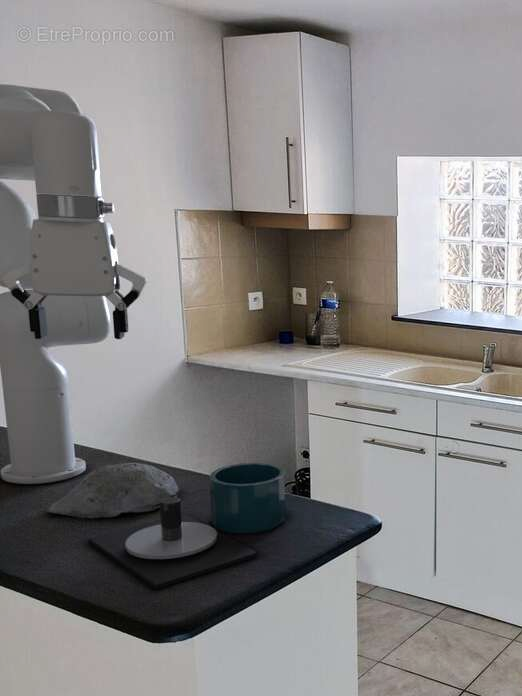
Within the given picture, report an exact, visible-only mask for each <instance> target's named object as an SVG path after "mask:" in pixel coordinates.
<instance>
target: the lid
mask: <svg viewBox="0 0 522 696" xmlns="http://www.w3.org/2000/svg"><path fill="white" fill-rule="evenodd" d="M181 515H182V507H181V498H179V497H178V496H177V497H168V498H163V499H161V500H160V507H159V518H160V520H161V524H160V525H155V526H151V527H148V528H145V529H142V530H140V531H138V532H136V533H134V534H132V535H131V536H130V537H129V538H128V539H127V540H126V542H125V547H126V550H127V552H128V553H130V554H131V555H133V556H136V557H140V558H146V559H171V558H178V557H184V556H188V555H192V554H195V553H198V552H201V551H203V550H205V549H207V548H209V547H210V546H212V545H213V544H214V543H215V542H216V540H217V532H216V531H217V529H216V528H215V527H214V526H213V527H212V526H211V525H208V524H206V523H204V524H201V523H195V522H182V521H181Z"/></svg>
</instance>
